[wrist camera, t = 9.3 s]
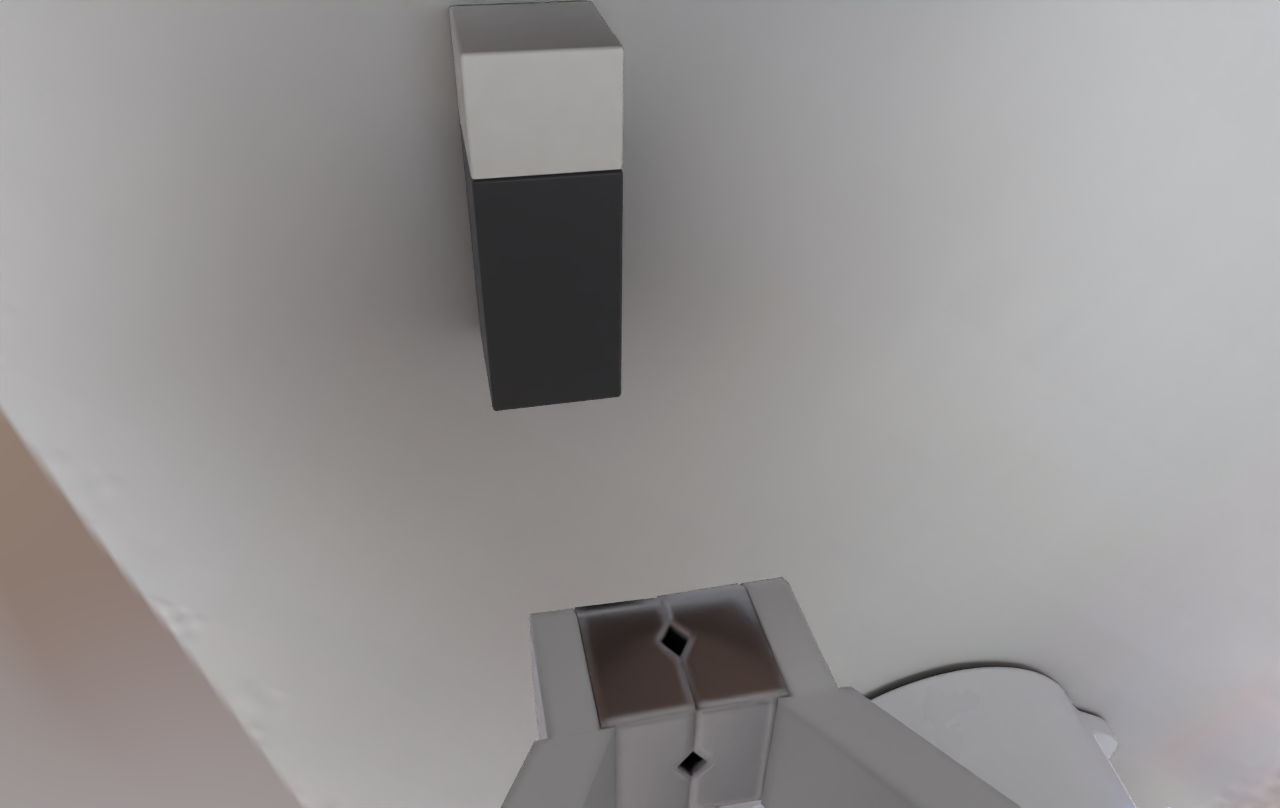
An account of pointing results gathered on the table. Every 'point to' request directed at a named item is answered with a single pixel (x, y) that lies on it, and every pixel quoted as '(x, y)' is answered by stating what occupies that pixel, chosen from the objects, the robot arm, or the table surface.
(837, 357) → the table surface
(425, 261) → the table surface
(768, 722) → the robot arm
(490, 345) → the black and white block
